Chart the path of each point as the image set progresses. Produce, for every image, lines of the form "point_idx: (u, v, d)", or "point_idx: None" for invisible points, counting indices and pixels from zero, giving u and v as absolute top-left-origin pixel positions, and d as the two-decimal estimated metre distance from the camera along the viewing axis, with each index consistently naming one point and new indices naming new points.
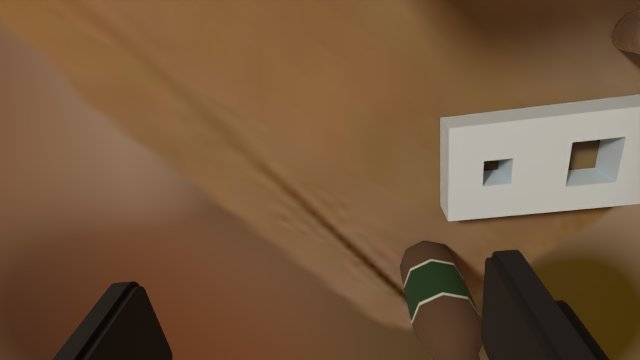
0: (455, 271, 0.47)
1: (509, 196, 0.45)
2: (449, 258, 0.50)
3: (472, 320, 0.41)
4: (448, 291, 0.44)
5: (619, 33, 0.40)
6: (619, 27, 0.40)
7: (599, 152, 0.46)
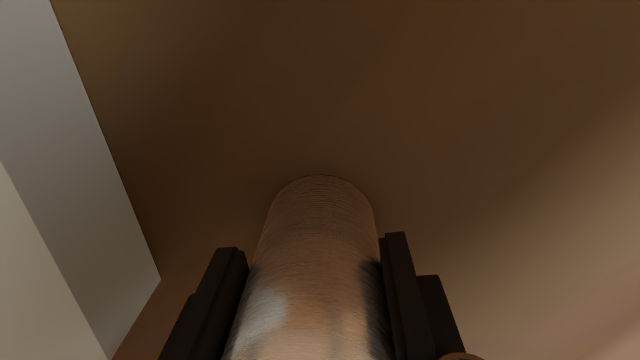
0: None
1: None
2: None
3: None
4: None
5: (314, 188, 0.13)
6: (332, 184, 0.13)
7: None
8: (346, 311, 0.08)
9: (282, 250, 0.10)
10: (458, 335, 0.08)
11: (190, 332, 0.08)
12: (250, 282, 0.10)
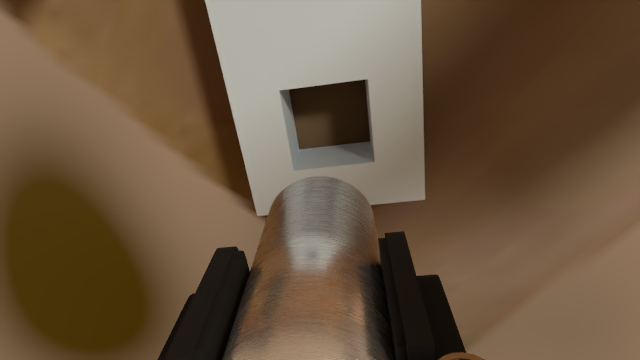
0: None
1: None
2: None
3: None
4: None
5: (314, 190, 0.13)
6: (332, 186, 0.13)
7: (326, 147, 0.29)
8: (346, 313, 0.08)
9: (283, 251, 0.10)
10: (458, 335, 0.08)
11: (190, 332, 0.08)
12: (250, 284, 0.10)
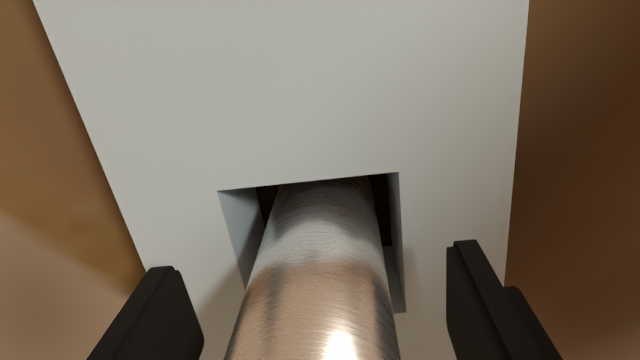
0: None
1: None
2: None
3: None
4: None
5: None
6: None
7: None
8: (348, 252, 0.10)
9: (293, 210, 0.12)
10: (558, 356, 0.07)
11: None
12: (267, 236, 0.11)
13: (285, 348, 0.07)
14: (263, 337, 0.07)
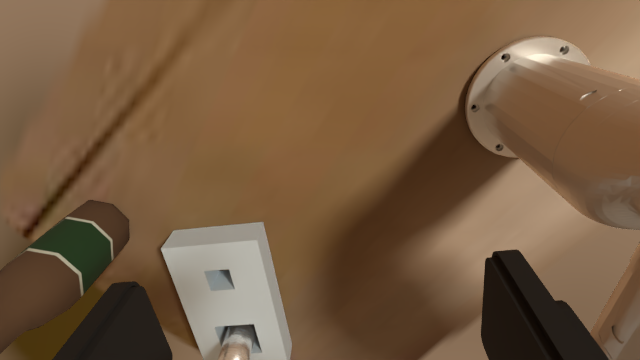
0: (105, 266, 0.45)
1: (197, 291, 0.49)
2: (117, 252, 0.47)
3: (60, 313, 0.38)
4: (83, 276, 0.40)
5: None
6: None
7: None
8: (239, 344, 0.50)
9: (231, 331, 0.52)
10: None
11: None
12: (225, 337, 0.51)
13: None
14: None
